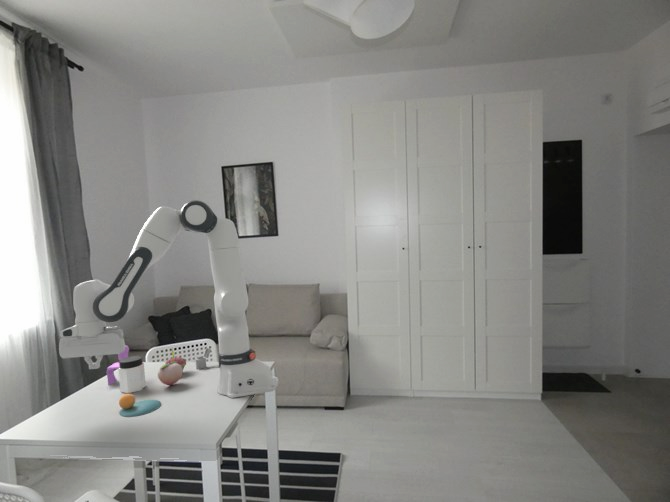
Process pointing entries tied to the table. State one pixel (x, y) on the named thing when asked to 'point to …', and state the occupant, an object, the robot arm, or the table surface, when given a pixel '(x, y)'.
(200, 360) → the lighter
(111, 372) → the toy chair
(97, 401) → the table surface
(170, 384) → the decorative fruit
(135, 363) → the jar
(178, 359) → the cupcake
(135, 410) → the disc
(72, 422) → the table surface
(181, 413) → the table surface
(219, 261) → the robot arm
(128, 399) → the ball
